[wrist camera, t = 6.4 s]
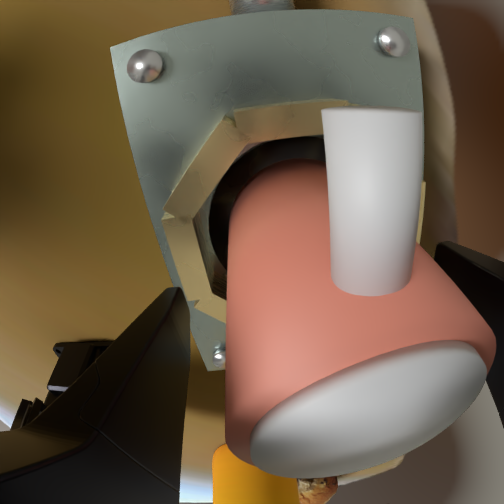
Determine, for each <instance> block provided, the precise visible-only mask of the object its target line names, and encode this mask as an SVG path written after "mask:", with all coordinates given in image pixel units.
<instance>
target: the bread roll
mask: <svg viewBox="0 0 504 504" xmlns="http://www.w3.org/2000/svg"><path fill="white" fill-rule="evenodd" d="M297 485H298V493H299V500H300V504H325V503H326V502H328V501H329V499H331V497H332V496H333V495H334V494H335V493H336V491H337V488H338V481H337V476H331V477H323V478H297Z"/></svg>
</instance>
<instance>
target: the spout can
mask: <svg viewBox="0 0 504 504" xmlns="http://www.w3.org/2000/svg"><path fill="white" fill-rule="evenodd" d="M321 113H322V122H323V132H324V143H325V154H326V163H325V162H322V161H319V160H315V159H308V158H293V159H287V160H282V161H279V162H276V163H273V164H271V165H269V166H267V167H265V168H263V169H262V170H260V171H259V172H257V173H256V174H255V175H253V176H252V177H251V178H250V179H249V180H248V181H247V182H246V183H245V184H244V186H243V187H242V188H241V190H240V191H239V193H238V194H237V196H236V198H235V200H234V202H233V205H232V209H231V212H230V218H229V238H228V267H227V304H226V357H225V439H226V444H227V446H228V448H229V450H230V451H231V452H232V453H233V454H234V455H235V456H236V457H238V458H239V459H240V460H242V461H244V462H246V463H248V464H250V465H253V466H256V467H258V468H259V469H260V470H262V471H264V472H267V473H269V474H273V475H276V476H281V477H288V478H323V477H331V476H338V475H343V474H348V473H352V472H357V471H360V470H364V469H367V468H371V467H374V466H377V465H379V464H382V463H385V462H387V461H390V460H392V459H395V458H397V457H399V456H401V455H404V454H406V453H408V452H409V451H411V450H413V449H415V448H417V447H419V446H421V445H422V444H424V443H426V442H427V441H429V440H430V439H432V438H433V437H435V436H436V435H438V434H439V433H441V432H442V431H443V430H445V429H446V428H447V427H448V426H450V425H451V424H452V423H453V422H454V421H456V420H457V419H458V418H459V417H460V416H461V415H462V414H463V413H464V412H465V411H466V410H467V409H468V408H469V407H470V405H471V404H472V403H473V402H474V400H475V399H476V397H477V396H478V394H479V393H480V391H481V389H482V387H483V385H484V383H485V380H486V376H487V374H488V372H489V370H490V368H491V366H492V364H493V361H494V357H495V354H496V338H495V335H494V333H493V331H492V329H491V328H490V327H489V325H488V324H487V323H486V321H485V320H484V319H483V317H482V316H481V315H480V314H479V312H478V311H477V310H476V309H475V307H474V306H473V305H472V304H471V302H470V301H469V300H468V299H467V297H466V296H465V295H464V294H463V293H462V291H461V290H460V289H459V288H458V287H457V285H456V284H455V283H454V282H453V281H452V280H451V278H450V277H449V276H448V275H447V274H446V273H445V272H444V271H443V269H442V268H441V267H440V266H439V265H438V264H437V263H436V262H435V261H434V260H433V258H432V257H431V256H430V255H429V254H428V253H427V252H426V251H425V250H424V249H423V248H422V247H421V246H420V245H419V244H418V243H417V242H416V238H417V230H418V221H419V211H420V199H421V184H422V158H423V126H422V112H421V111H418V110H414V109H408V108H401V107H390V106H341V107H331V108H326V109H322V110H321Z"/></svg>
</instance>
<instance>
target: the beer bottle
mask: <svg viewBox="0 0 504 504" xmlns="http://www.w3.org/2000/svg"><path fill="white" fill-rule="evenodd" d="M212 471H213V504H300V500H299V493H298V485H297V478H288V477H281V476H276V475H273V474H269V473H267V472H264V471H262V470H260V469H259V468H258V467H256V466H253V465H250V464H248V463H246V462H244V461H242V460H240V459H239V458H238V457H236V456H235V455H234V454H233V453H232V452H231V451H230V450H229V448H228V446H227V444H224V445H222V446H220V447H219V448H218V449H216V451H215V453H214V455H213V461H212Z"/></svg>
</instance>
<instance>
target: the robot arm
mask: <svg viewBox="0 0 504 504" xmlns="http://www.w3.org/2000/svg"><path fill="white" fill-rule="evenodd" d="M434 261H435V262H436V263H437V264H438V265H439V266H440V267H441V268H442V269H443V271H444V272H445V273H446V274H447V275H448V276H449V277H450V278H451V280H452V281H453V282H454V283H455V284H456V285H457V287H458V288H459V289H460V290H461V291H462V293H463V294H464V295H465V296H466V297H467V299H468V300H469V301H470V302H471V304H472V305H473V306H474V307H475V309H476V310H477V311H478V312H479V314H480V315H481V316H482V317H483V319H484V320H485V321H486V323H487V324H488V325H489V327H490V328H491V329H492V331H493V333H494V335H495V338H496V354H495V357H494V361H493V364H492V366H491V368H490V370H489V372H488V374H487V376H486V382H487V384H488V387H489V389H490V392H491V394H492V397H493V399H494V402H495V405H496V407H497V410H498V412H499V416H500V418H501V421H502V425H503V428H504V262H502V261H499V260H497V259H494V258H492V257H489V256H487V255H484V254H482V253H479V252H477V251H474V250H471V249H469V248H466V247H463V246H461V245H458V244H455V243H453V242H450V241H445V242H440V243H438V244H437V246H436V251H435V256H434ZM53 351H54V352H55V353H56V355H57V356H58V357H59V359H58V361H57V364H56V366H55V368H54V370H53V373H52V375H51V377H50V380H49V382H48V384H47V389H48V390H49V392H48V394H47V397H46V399H45V402H44V403H43V401H41V400H40V399H38V398H35V400H34V401H33V402H32V401H28V400H25V399H22V401H21V403H20V406H19V408H18V411H17V413H16V416H15V418H14V421H13V424H12V426H11V429H10V431H2V432H0V504H179V494H180V493H179V491H180V473H181V457H182V444H183V431H184V419H185V408H186V397H187V387H188V377H189V368H190V310H189V307H188V304H187V301H186V298H185V296H184V293H183V290H182V288H181V287H179V286H178V287H171V288H167V289H165V290H164V291H163V292H162V293H161V294H160V295H159V296H158V297H157V298H156V299H155V300H154V301H153V302H152V303H151V304H150V305H149V306H148V307H147V308H146V309H145V310H144V311H143V312H142V313H141V314H140V315H139V316H138V317H137V318H136V319H135V320H134V321H133V322H132V323H131V324H130V325H129V326H128V327H127V328H126V329H125V331H124V332H123V333H122V334H121V335H120V336H119V337H118V338H117V339H116V340H115V341H111V342H89V343H56V344H55V345H54V347H53Z"/></svg>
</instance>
